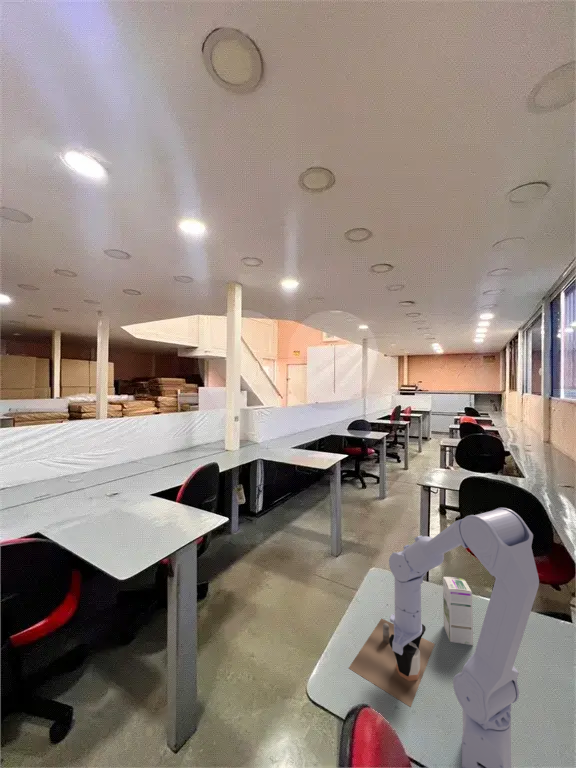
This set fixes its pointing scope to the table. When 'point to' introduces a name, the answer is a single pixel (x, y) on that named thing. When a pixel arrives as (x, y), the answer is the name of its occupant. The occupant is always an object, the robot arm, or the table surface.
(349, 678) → the table surface
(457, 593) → the syrup box
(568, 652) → the table surface
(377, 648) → the pin board
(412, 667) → the sleeve
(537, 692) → the table surface
